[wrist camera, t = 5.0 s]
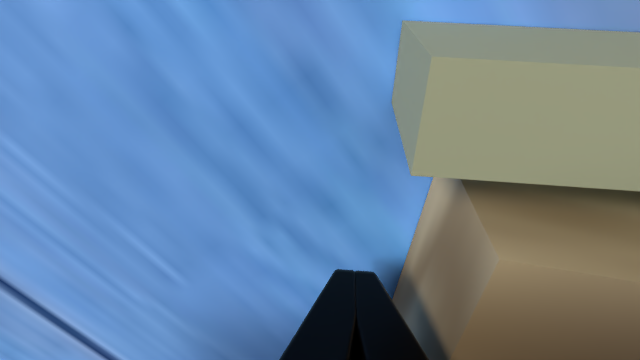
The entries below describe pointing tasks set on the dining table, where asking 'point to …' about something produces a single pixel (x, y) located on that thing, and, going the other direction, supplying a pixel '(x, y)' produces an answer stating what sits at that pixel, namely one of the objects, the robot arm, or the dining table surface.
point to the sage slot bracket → (520, 104)
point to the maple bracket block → (524, 272)
